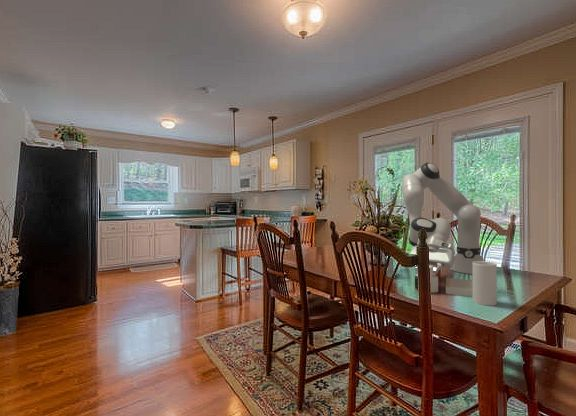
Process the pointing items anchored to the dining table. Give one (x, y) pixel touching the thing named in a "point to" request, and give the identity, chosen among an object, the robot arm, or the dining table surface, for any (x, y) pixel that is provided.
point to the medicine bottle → (432, 280)
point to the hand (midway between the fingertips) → (425, 270)
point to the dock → (459, 287)
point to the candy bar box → (390, 267)
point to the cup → (485, 283)
